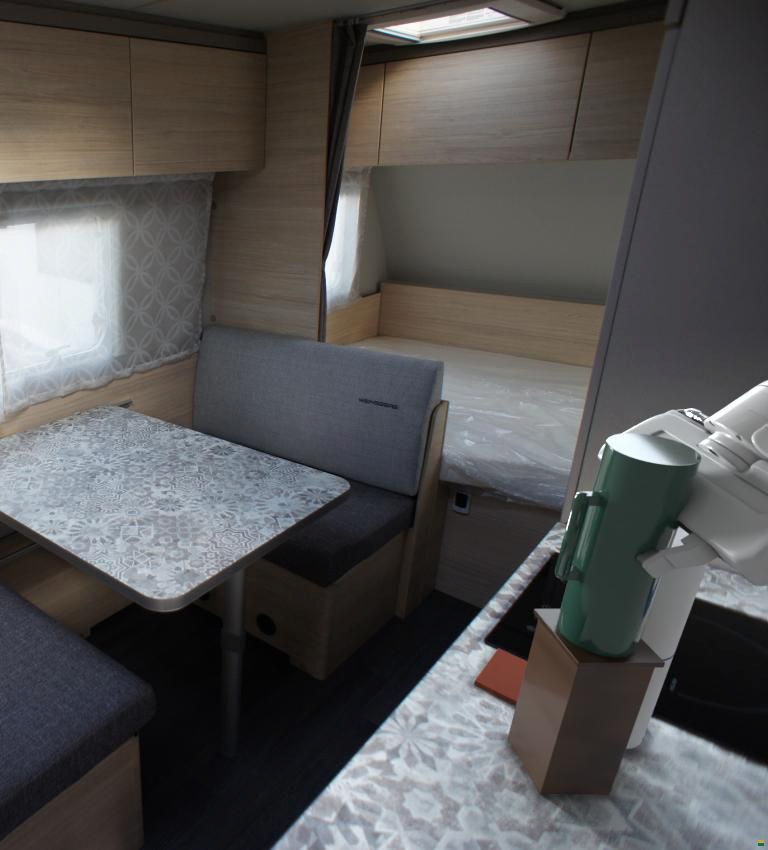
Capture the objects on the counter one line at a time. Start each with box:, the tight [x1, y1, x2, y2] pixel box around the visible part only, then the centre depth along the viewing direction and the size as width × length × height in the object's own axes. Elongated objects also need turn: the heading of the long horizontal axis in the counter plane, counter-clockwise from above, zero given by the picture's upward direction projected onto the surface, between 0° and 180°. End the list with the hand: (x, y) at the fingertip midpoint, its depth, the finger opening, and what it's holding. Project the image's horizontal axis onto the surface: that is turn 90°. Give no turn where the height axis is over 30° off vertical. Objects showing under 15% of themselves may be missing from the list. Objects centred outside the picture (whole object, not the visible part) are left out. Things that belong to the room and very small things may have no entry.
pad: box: [473, 647, 528, 706], centre depth 83 cm, size 8×7×1 cm
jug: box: [554, 432, 702, 658], centre depth 61 cm, size 8×7×20 cm
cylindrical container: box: [626, 527, 709, 750], centre depth 72 cm, size 7×7×25 cm
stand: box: [507, 608, 665, 796], centre depth 69 cm, size 8×8×18 cm
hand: (616, 543), depth 61 cm, fingers closed on jug, 6 cm apart
